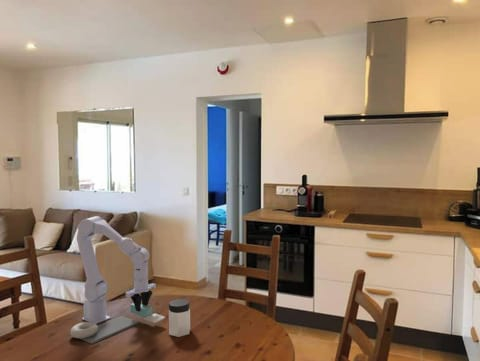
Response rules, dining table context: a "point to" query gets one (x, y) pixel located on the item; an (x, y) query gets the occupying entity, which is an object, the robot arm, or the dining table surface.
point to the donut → (84, 330)
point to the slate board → (110, 329)
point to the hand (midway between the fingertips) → (141, 309)
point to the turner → (147, 313)
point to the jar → (179, 317)
